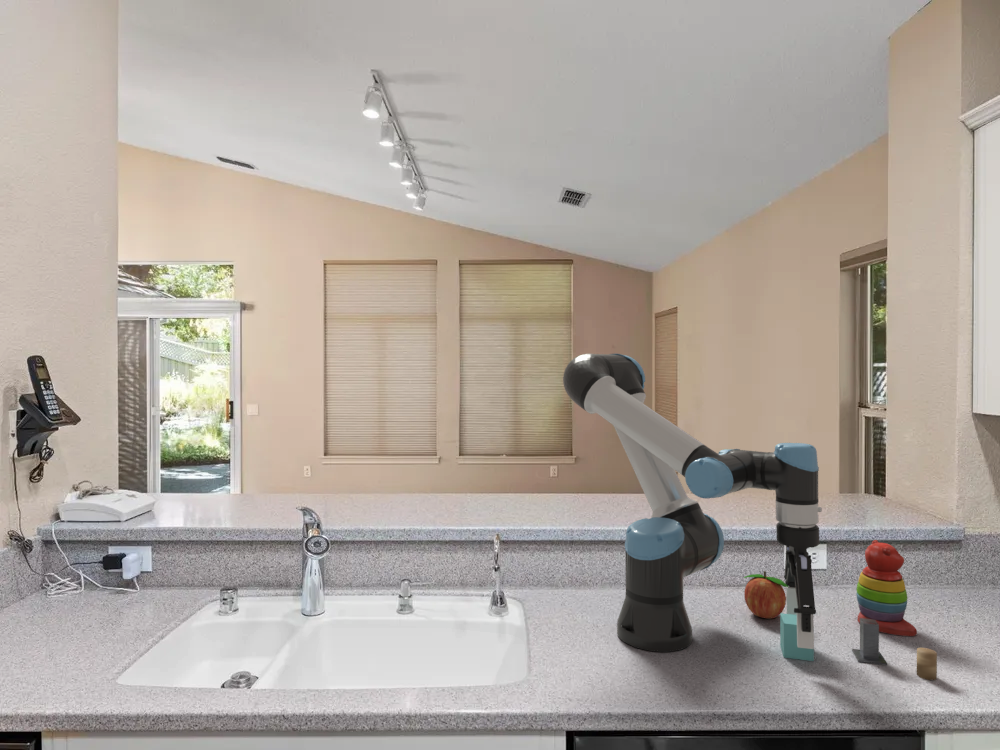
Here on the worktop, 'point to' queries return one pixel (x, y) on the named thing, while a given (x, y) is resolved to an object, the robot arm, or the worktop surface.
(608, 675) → the worktop surface
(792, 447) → the robot arm
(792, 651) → the teal rectangular prism
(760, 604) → the fruit
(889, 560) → the stacking bear
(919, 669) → the oak stub
